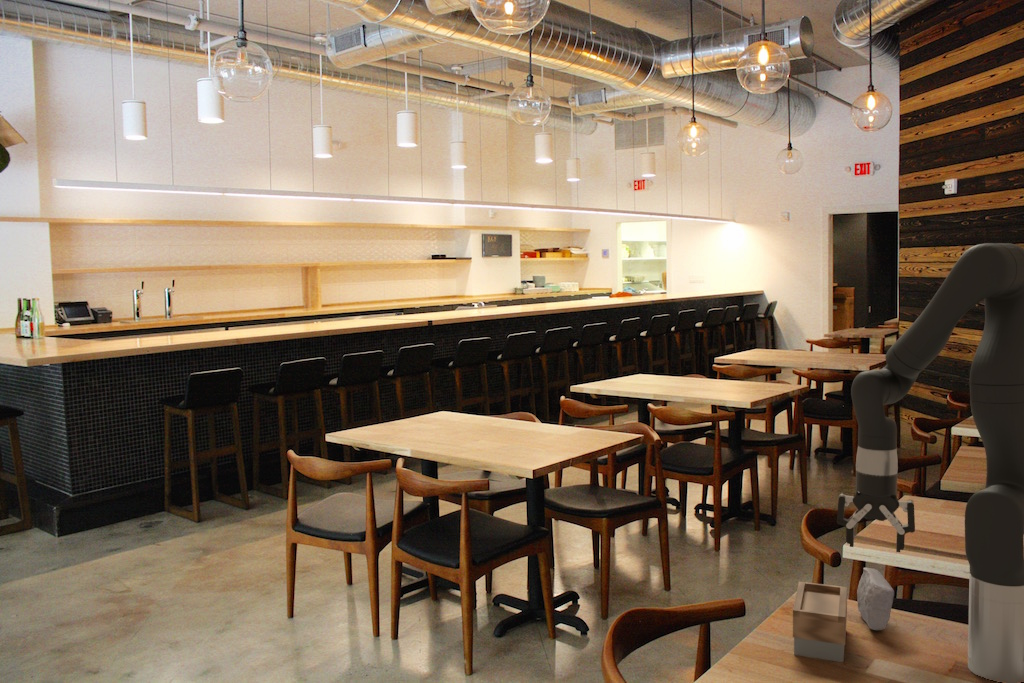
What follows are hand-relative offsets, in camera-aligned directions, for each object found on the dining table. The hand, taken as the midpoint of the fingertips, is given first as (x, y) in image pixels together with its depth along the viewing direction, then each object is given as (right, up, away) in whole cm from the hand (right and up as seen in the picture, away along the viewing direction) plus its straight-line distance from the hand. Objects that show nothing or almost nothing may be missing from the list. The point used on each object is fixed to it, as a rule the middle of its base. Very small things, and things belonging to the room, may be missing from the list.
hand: (874, 548), depth 162 cm
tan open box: (-14, -13, -7) cm, 20 cm away
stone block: (0, -16, +1) cm, 16 cm away
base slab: (-13, -17, -7) cm, 23 cm away
